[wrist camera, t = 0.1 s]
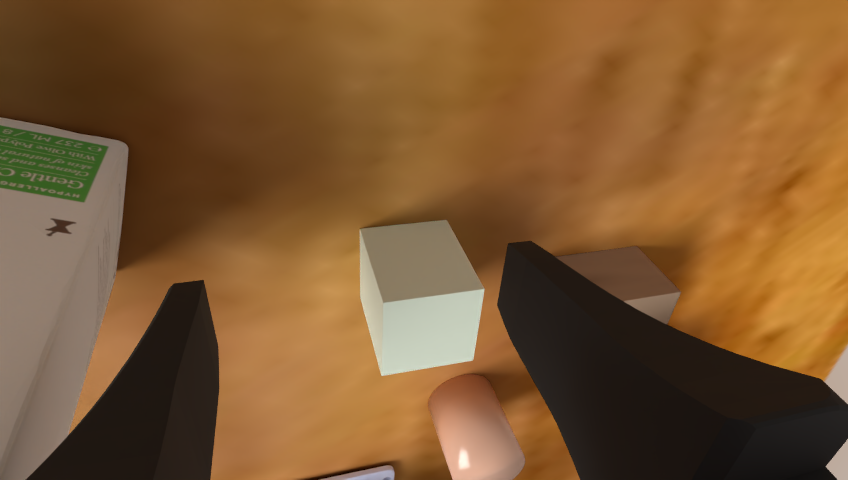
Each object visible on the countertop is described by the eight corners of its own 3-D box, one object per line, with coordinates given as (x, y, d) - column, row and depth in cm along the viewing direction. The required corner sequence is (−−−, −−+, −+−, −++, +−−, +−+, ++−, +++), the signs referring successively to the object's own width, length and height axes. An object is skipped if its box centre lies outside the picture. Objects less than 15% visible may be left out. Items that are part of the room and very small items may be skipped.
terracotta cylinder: (487, 412, 35) (518, 484, 31) (426, 424, 34) (450, 500, 30) (495, 368, 33) (530, 441, 29) (430, 380, 32) (457, 457, 28)
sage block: (439, 286, 28) (473, 360, 24) (360, 296, 27) (381, 375, 23) (446, 219, 26) (484, 289, 22) (359, 228, 25) (383, 302, 21)
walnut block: (607, 324, 34) (645, 375, 31) (515, 340, 32) (545, 395, 29) (634, 243, 30) (681, 291, 27) (533, 257, 29) (569, 309, 26)
